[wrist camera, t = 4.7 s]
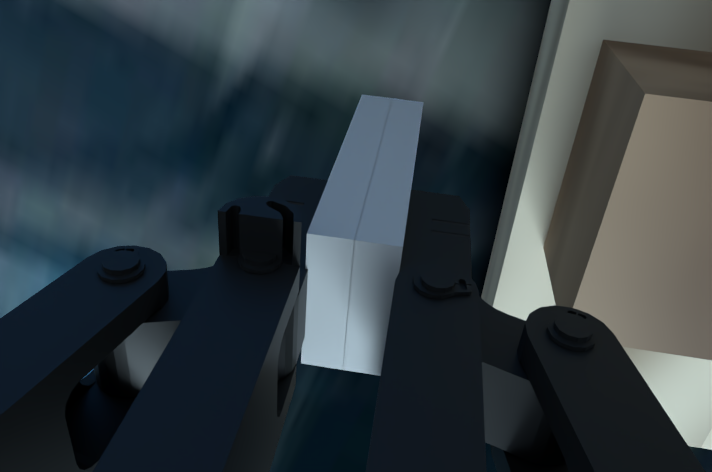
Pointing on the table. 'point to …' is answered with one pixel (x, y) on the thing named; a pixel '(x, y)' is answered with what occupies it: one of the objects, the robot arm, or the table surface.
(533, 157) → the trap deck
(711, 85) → the block
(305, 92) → the table surface
